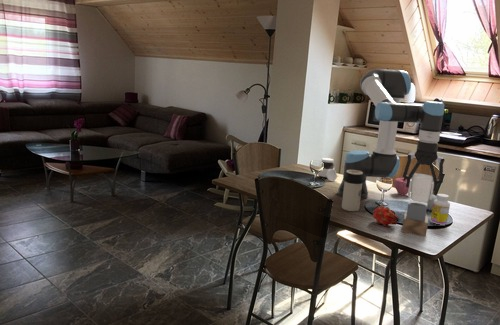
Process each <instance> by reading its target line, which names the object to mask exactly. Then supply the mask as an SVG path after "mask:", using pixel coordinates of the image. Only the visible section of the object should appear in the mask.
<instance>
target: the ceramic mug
mask: <svg viewBox="0 0 500 325" xmlns="http://www.w3.org/2000/svg"><path fill="white" fill-rule="evenodd" d="M429 197H430V195H429ZM436 199H437V195H435V194H434V193H433V194H432V200H430V199H429V200H428V202H425V203H428V204H427V210H428V209H429V211H430V212H432V208H433V202H434V200H436Z"/></svg>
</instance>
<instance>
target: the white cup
mask: <svg viewBox="0 0 500 325" xmlns="http://www.w3.org/2000/svg"><path fill="white" fill-rule="evenodd" d="M411 179H412V185H411V191H410V196H409V198H410V200H414V201H417V202H428V200H429V195H430V192H431V187H432V183H433V182H434V180H433V176H432V175H431V174H430V175H429V174H427V173H426V174H425V173H414V174H413V176H412V178H411Z"/></svg>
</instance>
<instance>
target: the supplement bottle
mask: <svg viewBox="0 0 500 325" xmlns="http://www.w3.org/2000/svg"><path fill="white" fill-rule="evenodd" d="M436 196H437V199H436V200H434V202H433V208H432V211H431V213H430V214H431V215H430V220H429V221H430V222H431V223H432V222H433V223H436V224H440V225H439V226H446V225H447V223H448V220H449V219H448V218H449V213H450V207H451V203H450V202H449V199H450V198H449V195H448V194H445V193H437V194H436ZM433 223H432V224H433ZM436 224H435V225H436ZM445 224H446V225H445Z"/></svg>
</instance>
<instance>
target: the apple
mask: <svg viewBox="0 0 500 325" xmlns="http://www.w3.org/2000/svg"><path fill="white" fill-rule="evenodd" d="M393 182H394V183H393V185H394V188H395V190H396V192H397V194H399V195H401V196H406V195H407V196H408V190H409V188H407V187H406V183H407V179H405V178H403V177H398V178H397V177H396V178H394V181H393Z"/></svg>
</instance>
